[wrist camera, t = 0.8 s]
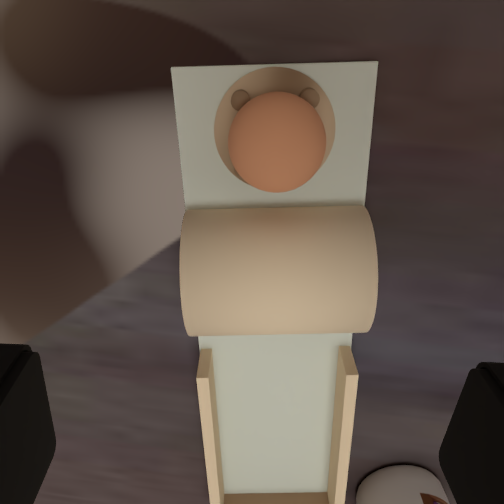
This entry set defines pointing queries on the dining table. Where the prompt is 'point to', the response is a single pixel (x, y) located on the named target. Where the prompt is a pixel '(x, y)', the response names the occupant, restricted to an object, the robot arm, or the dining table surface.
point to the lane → (277, 295)
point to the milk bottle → (401, 487)
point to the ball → (277, 142)
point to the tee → (264, 83)
